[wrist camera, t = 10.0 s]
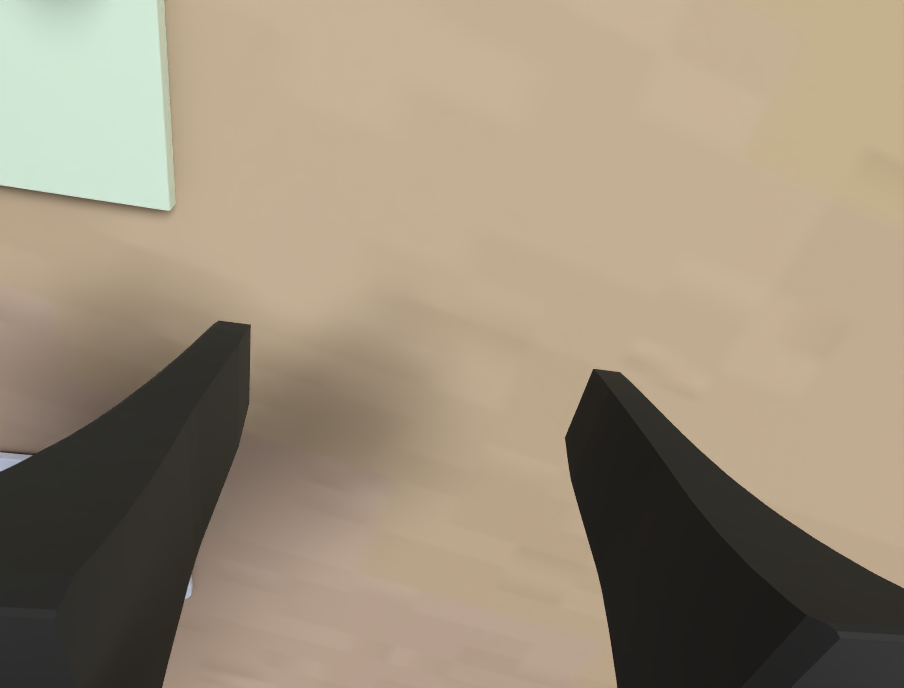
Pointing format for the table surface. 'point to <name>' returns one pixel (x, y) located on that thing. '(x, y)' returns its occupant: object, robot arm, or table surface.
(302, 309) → the table surface
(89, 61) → the tub lid
